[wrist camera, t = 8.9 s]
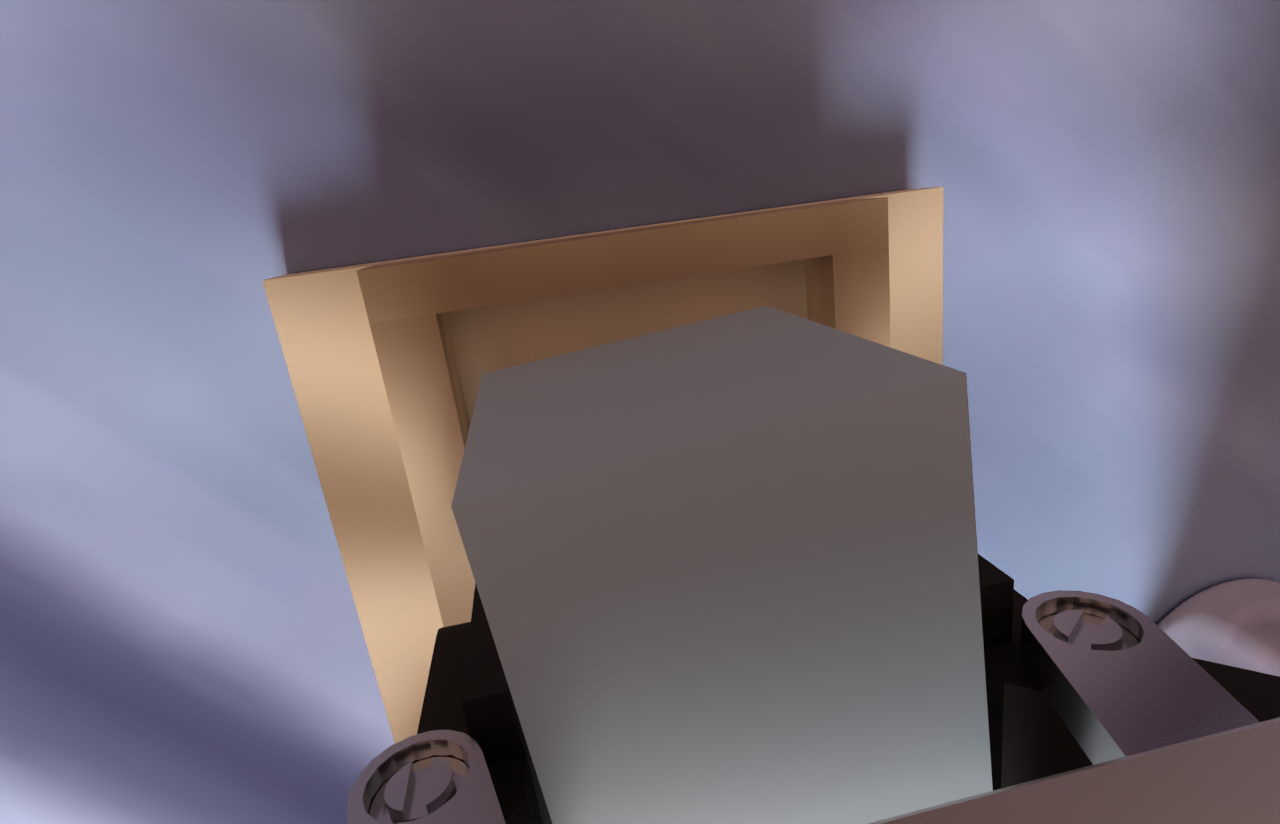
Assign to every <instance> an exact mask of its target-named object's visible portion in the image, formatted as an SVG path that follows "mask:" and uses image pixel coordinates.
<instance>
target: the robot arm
mask: <svg viewBox="0 0 1280 824" xmlns="http://www.w3.org/2000/svg"><path fill="white" fill-rule="evenodd" d="M978 568H979V583H980V599H981V615H982V630H983V646H984V661H985V677H986V693H987V708H988V724H989V739H990V755H991V771H992V786H993V791H990V792H986V793H982V794H978V795H975V796H971V797H967V798H963V799H959V800H955V801H952V802H948V803H944V804H940V805H936V806H932V807H929V808H925V809H921V810H917V811H913V812H910V813H906V814H902V815H898V816H894V817H891V818H887V819H883V820H879V821H875V822H872V823H868V824H1280V677H1279V676H1275V675H1270V674H1265V673H1261V672H1256V671H1252V670H1247V669H1242V668H1238V667H1233V666H1228V665H1224V664H1219V663H1214V662H1210V661H1205V660H1201V659H1196V658H1191V657H1190V656H1189V655H1188V654H1187V653H1186V652H1185V651H1184V650H1183V649H1182V648H1181V647H1180V646H1179V645H1178V644H1176V643H1175V642H1174V641H1173V640H1172V639H1171V638H1170V637H1169V636H1168V635H1167V634H1166V633H1165V632H1164V631H1163V630H1162V629H1161V628H1159V627H1158V626H1157V625H1156V624H1155V623H1154V622H1153V621H1152V620H1151V619H1150V618H1148V617H1147V616H1146V615H1144V614H1143V613H1142V612H1140V611H1139V610H1137V609H1136V608H1134V607H1132V606H1130V605H1127V604H1125V603H1123V602H1121V601H1119V600H1116V599H1113V598H1109V597H1106V596H1103V595H1099V594H1094V593H1088V592H1082V591H1053V592H1046V593H1042V594H1039V595H1037V596H1034V597H1032V598H1030V599H1029V600H1027V599H1026V598H1025V597H1023V596H1022V595H1021V594H1019V593H1018V592H1017V591H1015V590H1014V589H1013V588H1014V580H1013V579H1012V578H1011V577H1009V576H1008V575H1006V574H1005V573H1004V572H1002V571H1001V570H999V569H998V568H997V567H995V566H994V565H993V564H991V563H990V562H988V561H987V560H986V559H984V558H983V557H981V556H980V555H979V554H978ZM347 811H348V824H552V821H551V817H550V814H549V811H548V808H547V805H546V802H545V799H544V796H543V792H542V789H541V786H540V783H539V780H538V777H537V774H536V770H535V767H534V764H533V761H532V758H531V755H530V752H529V749H528V745H527V742H526V739H525V736H524V733H523V730H522V727H521V724H520V720H519V717H518V714H517V711H516V708H515V705H514V702H513V698H512V695H511V692H510V689H509V686H508V683H507V680H506V677H505V673H504V670H503V667H502V664H501V661H500V658H499V655H498V651H497V648H496V645H495V642H494V639H493V636H492V633H491V630H490V626H489V623H488V620H487V617H486V614H485V611H484V608H483V605H482V601H481V598H480V595H479V592H478V589H477V586H476V583H475V591H474V599H473V608H472V616H471V622H466V623H462V624H457V625H452V626H447V627H442V628H440V629H438V632H437V635H436V640H435V645H434V650H433V655H432V660H431V665H430V670H429V675H428V681H427V686H426V691H425V696H424V701H423V706H422V711H421V716H420V721H419V726H418V731H417V735H413V736H410V737H408V738H406V739H404V740H402V741H400V742H398V743H396V744H394V745H392V746H390V747H389V748H387V749H386V750H385V751H383V752H382V753H381V754H379V755H378V756H377V757H375V758H374V759H373V760H372V761H371V762H370V763H369V764H368V765H367V766H366V768H365V769H364V770H363V771H362V772H361V773H360V774H359V776H358V778H357V779H356V781H355V783H354V785H353V787H352V789H351V790H350V795H349V801H348V807H347Z"/></svg>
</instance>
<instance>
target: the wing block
mask: <svg viewBox="0 0 1280 824" xmlns="http://www.w3.org/2000/svg"><path fill="white" fill-rule="evenodd" d="M451 507H452V511H453V514H454V517H455V520H456V523H457V526H458V529H459V532H460V536H461V539H462V542H463V545H464V548H465V551H466V554H467V558H468V561H469V564H470V567H471V570H472V573H473V576H474V579H475V583H476V586H477V589H478V592H479V595H480V598H481V601H482V605H483V608H484V611H485V614H486V617H487V620H488V623H489V626H490V630H491V633H492V636H493V639H494V642H495V645H496V648H497V651H498V655H499V658H500V661H501V664H502V667H503V670H504V673H505V677H506V680H507V683H508V686H509V689H510V692H511V695H512V698H513V702H514V705H515V708H516V711H517V714H518V717H519V720H520V724H521V727H522V730H523V733H524V736H525V739H526V742H527V745H528V749H529V752H530V755H531V758H532V761H533V764H534V767H535V770H536V774H537V777H538V780H539V783H540V786H541V789H542V792H543V796H544V799H545V802H546V805H547V808H548V811H549V814H550V817H551V821H552V824H868V823H872V822H875V821H879V820H883V819H887V818H891V817H894V816H898V815H902V814H906V813H910V812H913V811H917V810H921V809H925V808H929V807H932V806H936V805H940V804H944V803H948V802H952V801H955V800H959V799H963V798H967V797H971V796H975V795H978V794H982V793H986V792H990V791H993V786H992V771H991V755H990V739H989V724H988V708H987V693H986V677H985V661H984V646H983V630H982V615H981V599H980V583H979V568H978V552H977V537H976V521H975V505H974V490H973V474H972V459H971V443H970V427H969V412H968V396H967V380H966V373H964V372H961V371H958V370H955V369H953V368H950V367H947V366H944V365H941V364H938V363H935V362H932V361H929V360H926V359H923V358H920V357H917V356H914V355H911V354H908V353H905V352H902V351H899V350H896V349H893V348H890V347H888V346H885V345H882V344H879V343H876V342H873V341H870V340H867V339H864V338H861V337H858V336H855V335H852V334H849V333H846V332H843V331H840V330H837V329H834V328H831V327H828V326H826V325H823V324H820V323H817V322H814V321H811V320H808V319H805V318H802V317H799V316H796V315H793V314H790V313H787V312H784V311H781V310H778V309H775V308H772V307H769V306H763V307H759V308H755V309H751V310H746V311H742V312H738V313H734V314H730V315H726V316H721V317H717V318H713V319H709V320H705V321H701V322H696V323H692V324H688V325H684V326H680V327H675V328H671V329H667V330H663V331H659V332H655V333H650V334H646V335H642V336H638V337H634V338H630V339H625V340H621V341H617V342H613V343H609V344H605V345H600V346H596V347H592V348H588V349H584V350H580V351H575V352H571V353H567V354H563V355H559V356H554V357H550V358H546V359H542V360H538V361H534V362H529V363H525V364H521V365H517V366H513V367H509V368H504V369H500V370H496V371H492V372H488V373H484V374H482V377H481V381H480V386H479V390H478V394H477V398H476V403H475V407H474V411H473V416H472V420H471V424H470V428H469V433H468V437H467V441H466V445H465V450H464V454H463V458H462V462H461V467H460V471H459V475H458V479H457V484H456V488H455V492H454V496H453V501H452V505H451Z"/></svg>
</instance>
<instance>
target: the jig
mask: <svg viewBox="0 0 1280 824" xmlns="http://www.w3.org/2000/svg"><path fill="white" fill-rule="evenodd" d="M263 284H264V287H265V291H266V294H267V298H268V301H269V305H270V308H271V312H272V315H273V319H274V322H275V326H276V329H277V333H278V336H279V340H280V343H281V347H282V350H283V354H284V357H285V361H286V364H287V368H288V371H289V375H290V378H291V382H292V385H293V389H294V392H295V396H296V399H297V403H298V406H299V410H300V413H301V417H302V420H303V424H304V427H305V431H306V434H307V438H308V441H309V445H310V448H311V452H312V455H313V459H314V462H315V466H316V469H317V473H318V476H319V480H320V483H321V487H322V490H323V494H324V497H325V501H326V504H327V508H328V511H329V515H330V518H331V522H332V525H333V529H334V532H335V536H336V539H337V543H338V546H339V550H340V553H341V557H342V560H343V564H344V567H345V570H346V574H347V577H348V581H349V584H350V588H351V591H352V595H353V598H354V602H355V605H356V609H357V612H358V616H359V619H360V623H361V626H362V630H363V633H364V637H365V640H366V644H367V647H368V651H369V654H370V658H371V661H372V665H373V668H374V672H375V675H376V679H377V682H378V686H379V689H380V693H381V696H382V700H383V703H384V707H385V710H386V714H387V717H388V721H389V724H390V728H391V731H392V735H393V738H394V742H395V744H396V743H398V742H400V741H402V740H404V739H406V738H408V737H410V736H413V735H417V731H418V726H419V721H420V716H421V711H422V706H423V701H424V696H425V691H426V686H427V681H428V675H429V670H430V665H431V660H432V655H433V650H434V645H435V640H436V635H437V632H438V629H440V628H442V627H447V626H452V625H457V624H462V623H466V622H471V616H472V608H473V599H474V591H475V579H474V576H473V573H472V570H471V567H470V564H469V561H468V558H467V554H466V551H465V548H464V545H463V542H462V539H461V536H460V532H459V529H458V526H457V523H456V520H455V517H454V514H453V511H452V507H451V505H452V501H453V496H454V492H455V488H456V484H457V479H458V475H459V471H460V467H461V462H462V458H463V454H464V450H465V445H466V441H467V437H468V433H469V428H470V424H471V420H472V416H473V411H474V407H475V403H476V398H477V394H478V390H479V386H480V381H481V377H482V374H484V373H488V372H492V371H496V370H500V369H504V368H509V367H513V366H517V365H521V364H525V363H529V362H534V361H538V360H542V359H546V358H550V357H554V356H559V355H563V354H567V353H571V352H575V351H580V350H584V349H588V348H592V347H596V346H600V345H605V344H609V343H613V342H617V341H621V340H625V339H630V338H634V337H638V336H642V335H646V334H650V333H655V332H659V331H663V330H667V329H671V328H675V327H680V326H684V325H688V324H692V323H696V322H701V321H705V320H709V319H713V318H717V317H721V316H726V315H730V314H734V313H738V312H742V311H746V310H751V309H755V308H759V307H763V306H769V307H772V308H775V309H778V310H781V311H784V312H787V313H790V314H793V315H796V316H799V317H802V318H805V319H808V320H811V321H814V322H817V323H820V324H823V325H826V326H828V327H831V328H834V329H837V330H840V331H843V332H846V333H849V334H852V335H855V336H858V337H861V338H864V339H867V340H870V341H873V342H876V343H879V344H882V345H885V346H888V347H890V348H893V349H896V350H899V351H902V352H905V353H908V354H911V355H914V356H917V357H920V358H923V359H926V360H929V361H932V362H935V363H938V364H941V365H943V187H934V188H920V189H907V190H900V191H892V192H885V193H878V194H871V195H863V196H856V197H849V198H841V199H834V200H827V201H819V202H812V203H805V204H798V205H790V206H783V207H776V208H768V209H761V210H754V211H746V212H739V213H732V214H725V215H717V216H710V217H703V218H695V219H688V220H681V221H674V222H666V223H659V224H652V225H644V226H637V227H630V228H622V229H615V230H608V231H601V232H593V233H586V234H579V235H571V236H564V237H557V238H549V239H542V240H535V241H528V242H520V243H513V244H506V245H498V246H491V247H484V248H476V249H469V250H462V251H455V252H447V253H440V254H433V255H425V256H418V257H411V258H404V259H396V260H389V261H382V262H374V263H367V264H360V265H352V266H345V267H338V268H331V269H323V270H316V271H309V272H301V273H294V274H287V275H283V276H278V277H274V278H270V279H266V280H263Z"/></svg>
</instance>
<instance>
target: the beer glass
mask: <svg viewBox="0 0 1280 824" xmlns="http://www.w3.org/2000/svg"><path fill="white" fill-rule="evenodd" d="M1157 626H1158V627H1159V628H1161V629H1162V630H1163V631H1164V632H1165V633H1166V634H1167V635H1168V636H1169V637H1170V638H1171V639H1172V640H1173V641H1174V642H1175V643H1176V644H1178V645H1179V646H1180V647H1181V648H1182V649H1183V650H1184V651H1185V652H1186V653H1187V654H1188V655H1189V656H1190V657H1191V658H1196V659H1201V660H1205V661H1210V662H1214V663H1219V664H1224V665H1228V666H1233V667H1238V668H1242V669H1247V670H1252V671H1256V672H1261V673H1265V674H1270V675H1275V676H1279V677H1280V583H1278V582H1275V581H1271V580H1266V579H1258V578H1248V579H1239V580H1233V581H1229V582H1225V583H1222V584H1218V585H1216V586H1213V587H1210V588H1208V589H1206V590H1203V591H1201V592H1199V593H1198V594H1196V595H1194V596H1192V597H1191V598H1189V599H1187V600H1186V601H1184V602H1183V603H1181V604H1180V605H1179V606H1177V607H1176V608H1175V609H1173V610H1172V611H1171V612H1170V613H1169V614H1168V615H1166V616H1165V617H1164V618H1163V619H1162V620H1161V621H1160V622H1159V623H1158V624H1157Z"/></svg>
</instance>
